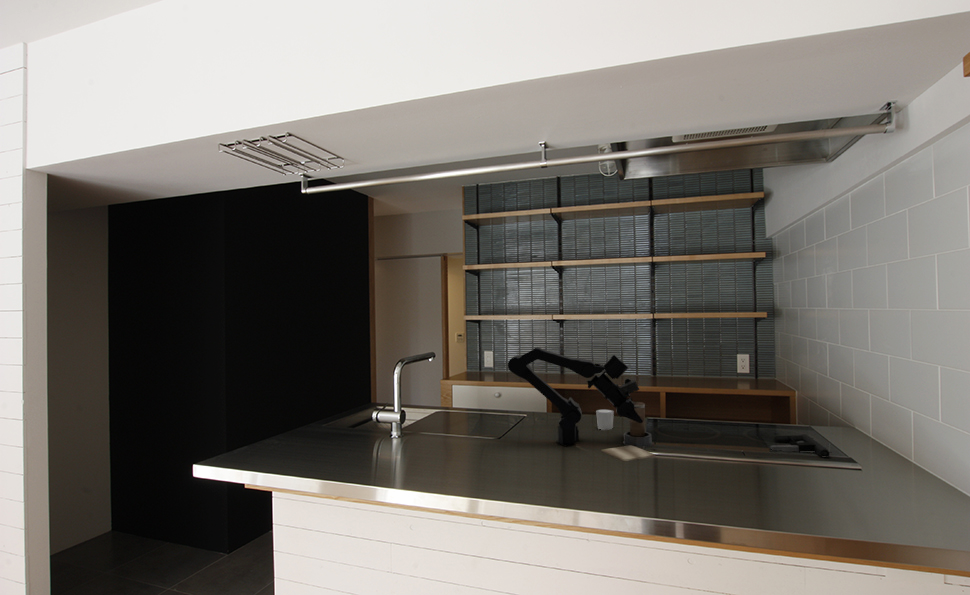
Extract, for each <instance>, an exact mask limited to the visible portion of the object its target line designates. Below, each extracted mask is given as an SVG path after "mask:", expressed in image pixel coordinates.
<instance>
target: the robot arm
mask: <svg viewBox="0 0 970 595" xmlns="http://www.w3.org/2000/svg"><path fill="white" fill-rule="evenodd" d="M537 360H539V361H542V362H546V363H548V364H552V365H555V366H559V367H562V368H564V369H565V368H566V369H569V370H570V371H572V372H574V373H576V374H577V375H579V376H581V377H583V378H586V379H587V380H586V382H587V389H591V388H592V387H593V386H594V388H595V389H596V390H597V391H598V392H599V393H600V394H602V396H603V397H604V399H606V400H608V401H609V403H611V404H612V405H613V407H614V408H615V412H616V414H617V415H618V416H619V417H620V418H622V417H624V418H626V419H629V420H630V419H631V420H634V421H636V422H638V423H642V422H643V420H642V419H641V417H640V416H639V415H638V413H637V412H636V411H635V409H634V402H635V401H633V398H632V397H631V394H632V393H634V392H638V391H639V390H640V387H639V386H638V384H637V381H636V379H630V378H628V377H627V378H625V379H624V383H623V384H621V385H619V384H618V383H615V382H614V381H613V380H614V379H619V378H620V377H621V376H622V375H623V374H624V373H626V372H627V371H628V369H629V366H628V365H627V364H626V363H625V362H624V361H623V360H621V359H620V358H619V357H617V355H615V354H612V355H611V357H610V359H609V360H607V362H605V363H604V364H602V363H595V362H594V361H593V360H591V359H586V358H574V357H569V356H566V355H562V354H559V353H556V352H553V351H550V350H547V349H543V348H541V347H534V348H533V349H532V350H530V351H528V352H526V353H524V354H522V355H514V356H512V357H511V358H510V359H509V361H508V363H507V369H508V370H509V372H510V373H513V374H514V375H515V376H516V377H519V378H521V379H523V380H525V381H526V382H528V384H530V385H531V386H532V387H533V388H535V389H536V390H537V391H538V392H539V393H540V395H542V396H544V397H545V398H546V399H547V400H548V401H549V402H550V403H552V404H553V405H554V406H555V408H557V410H558V411H559V413H560V414H561V416H560V417H559V421H558V424H559V425H557V433H558V434H557V436H558V437H557V440H556V441H555V442H556V443H557V444H559V445H562V446H564V447H570V446H576V445H577V444H576V442H579V441H580V431H579V427H578V425H577V423H579V422H580V421H581V419H582V409H581V407H580V403H577V402H576V401H575V400H574V399H573V398H572V397H571V396H570V397H569V398H568V399H567V398H565V397H563V396H562V395H561V394H560V393H559V392H558V391H556V389H554V388H553V387H552V386H551V385H550V384H549V383H547V382H546V381H545V380H544V379H542V377H541V376H540V375H539V374H537V373H536V372H535V371H534V370H533V369H532V367H531V366H530V364H532V363H533V362H535V361H537ZM598 374H599V375H598ZM607 375H608V376H607ZM589 378H591V379H589ZM628 397H629V398H628Z"/></svg>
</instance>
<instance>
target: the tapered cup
mask: <svg viewBox="0 0 970 595" xmlns="http://www.w3.org/2000/svg"><path fill="white" fill-rule="evenodd" d="M633 402H634V409H635V411H636V412H637V413H638V415H639V416H640V417H641V419H642V420H643V422H642V423H638V422H636V421H634V420H631V419H629V431H630V436H634V437H645V432H646V421H645V420H646V418H645V417H646V415H645V414H646V413H645V410H646V407H645V406H646V404H645V402H641V401H633Z"/></svg>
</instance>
